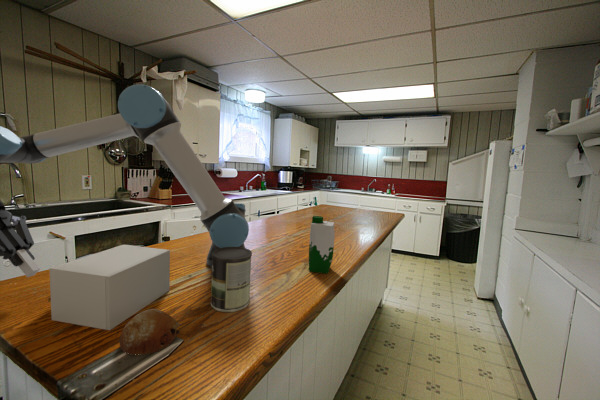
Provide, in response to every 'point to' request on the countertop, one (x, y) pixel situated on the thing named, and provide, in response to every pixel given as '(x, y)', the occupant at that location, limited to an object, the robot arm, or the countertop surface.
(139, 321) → the bread roll
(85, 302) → the plain grey box
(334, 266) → the countertop surface
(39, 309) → the countertop surface
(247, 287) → the coffee can
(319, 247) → the milk carton
